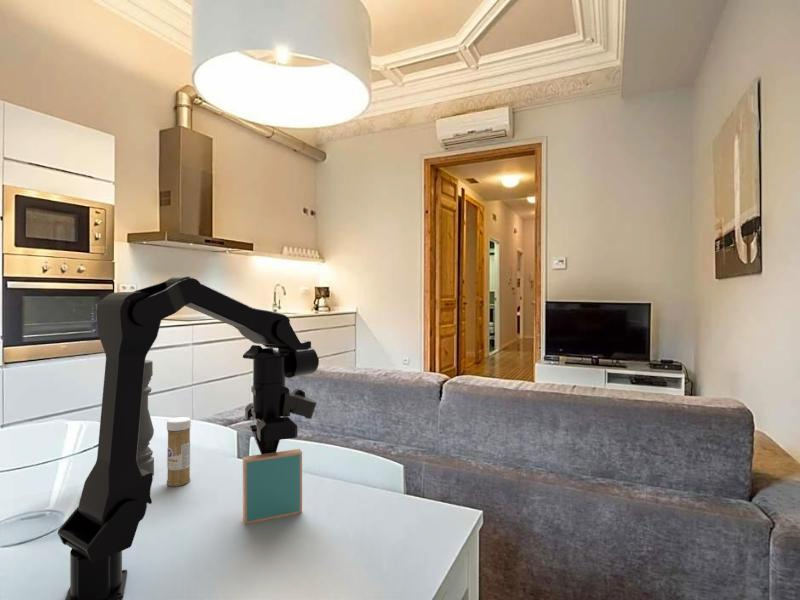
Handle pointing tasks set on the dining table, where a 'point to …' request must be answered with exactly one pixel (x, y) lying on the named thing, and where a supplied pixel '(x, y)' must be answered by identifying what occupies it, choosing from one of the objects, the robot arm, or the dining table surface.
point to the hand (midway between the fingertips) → (269, 466)
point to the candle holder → (145, 424)
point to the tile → (272, 485)
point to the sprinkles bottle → (178, 451)
